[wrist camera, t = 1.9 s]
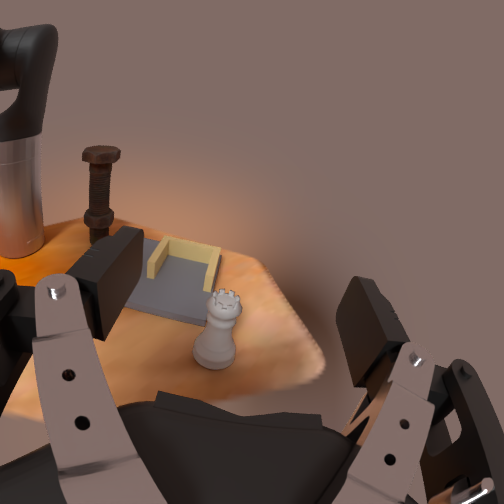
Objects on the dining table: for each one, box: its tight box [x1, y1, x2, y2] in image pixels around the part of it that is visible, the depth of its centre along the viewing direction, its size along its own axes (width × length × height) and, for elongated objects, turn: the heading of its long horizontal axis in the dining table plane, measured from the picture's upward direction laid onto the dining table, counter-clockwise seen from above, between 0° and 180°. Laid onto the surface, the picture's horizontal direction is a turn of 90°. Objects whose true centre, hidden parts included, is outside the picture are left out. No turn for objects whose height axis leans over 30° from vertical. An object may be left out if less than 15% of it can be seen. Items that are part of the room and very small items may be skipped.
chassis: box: [124, 236, 222, 327], centre depth 37 cm, size 13×15×4 cm
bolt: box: [82, 146, 121, 245], centre depth 38 cm, size 6×5×15 cm
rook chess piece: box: [192, 289, 242, 370], centre depth 27 cm, size 4×4×8 cm
